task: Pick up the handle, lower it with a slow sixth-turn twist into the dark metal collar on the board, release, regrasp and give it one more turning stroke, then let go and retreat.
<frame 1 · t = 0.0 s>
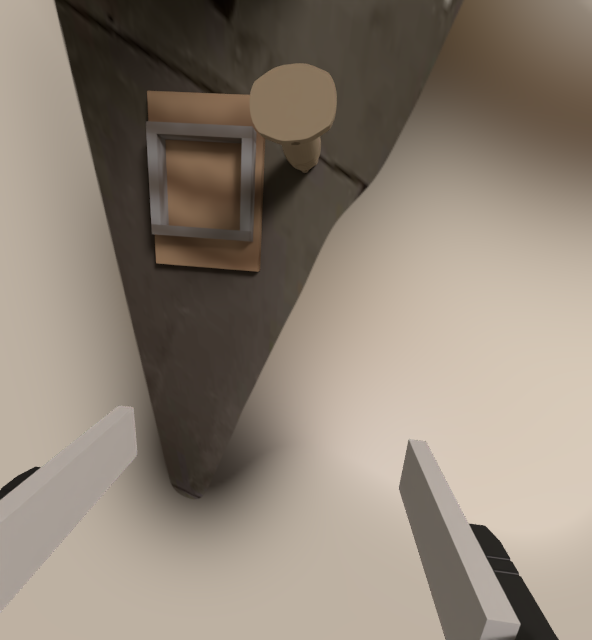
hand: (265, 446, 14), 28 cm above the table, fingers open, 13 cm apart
collar board: (209, 188, 38), on the table
handle: (304, 159, 36), on the table
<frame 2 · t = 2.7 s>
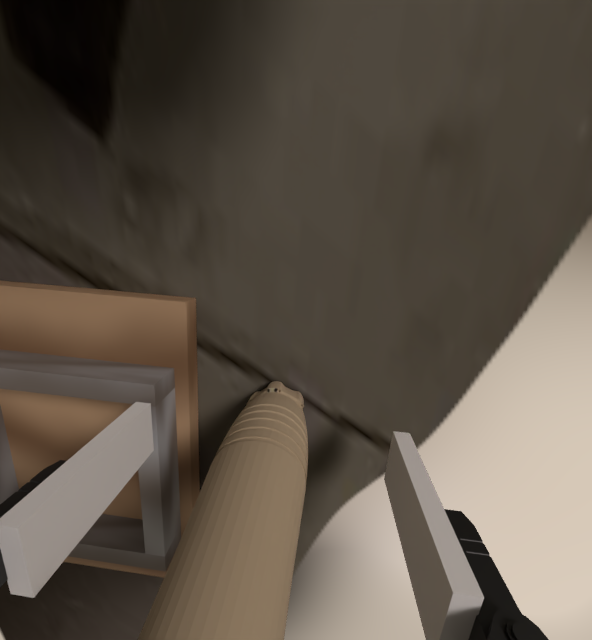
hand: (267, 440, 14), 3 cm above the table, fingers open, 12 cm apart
collar board: (96, 436, 19), on the table
handle: (279, 401, 18), on the table
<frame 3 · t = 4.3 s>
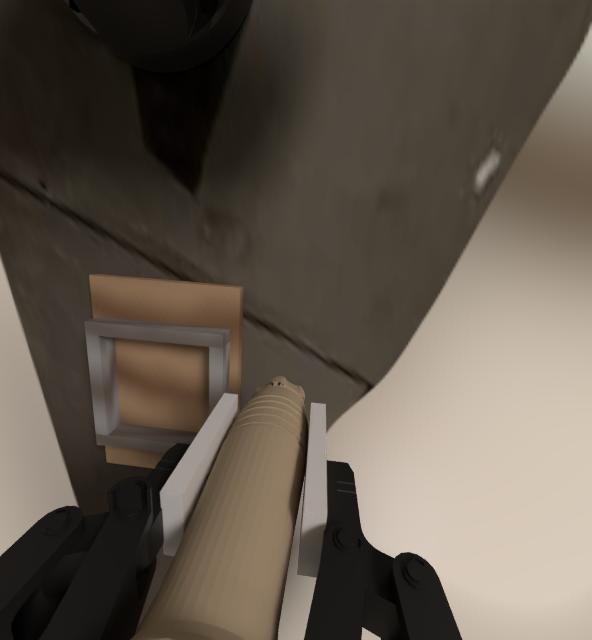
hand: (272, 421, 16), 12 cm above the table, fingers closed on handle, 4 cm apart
collar board: (172, 378, 30), on the table
handle: (282, 395, 19), point 9 cm above the table, touching gripper
when the fingers open (5 cm above the table, at t = 8.2 s): handle stays where it is, resting on collar board.
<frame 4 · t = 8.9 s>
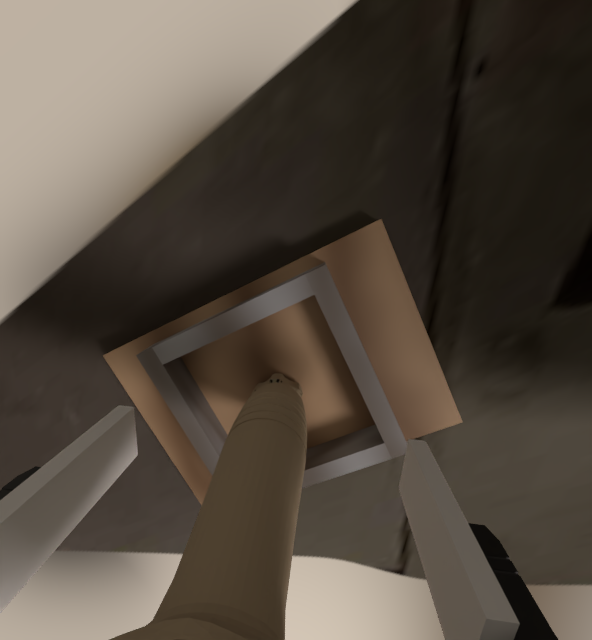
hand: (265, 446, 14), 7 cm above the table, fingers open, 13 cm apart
collar board: (280, 379, 21), on the table
handle: (280, 391, 20), point 1 cm above the table, touching collar board
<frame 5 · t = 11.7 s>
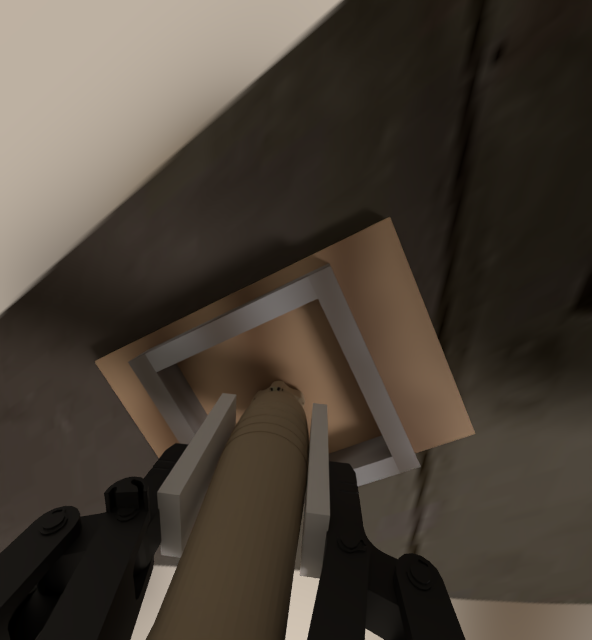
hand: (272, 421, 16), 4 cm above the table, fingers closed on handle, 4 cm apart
collar board: (282, 387, 20), on the table
handle: (281, 400, 19), point 1 cm above the table, touching collar board, gripper
when the fingers open (4 cm above the table, at t = 13.1 s): handle stays where it is, resting on collar board.
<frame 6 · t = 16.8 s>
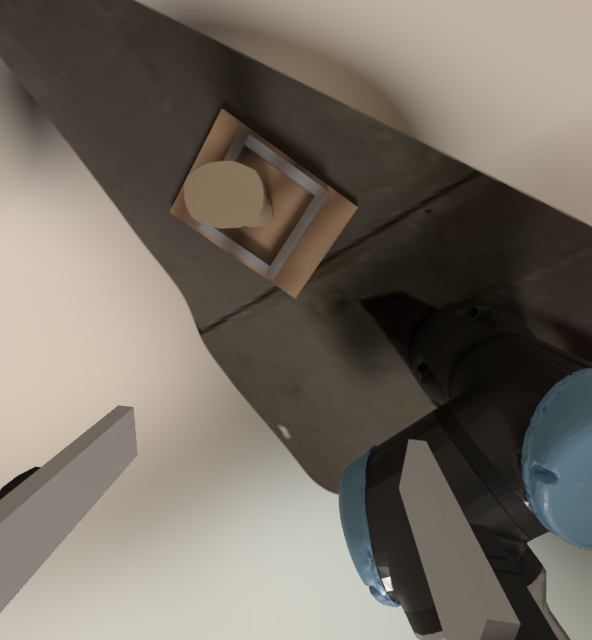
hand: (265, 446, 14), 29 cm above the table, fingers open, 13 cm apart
collar board: (262, 210, 39), on the table
handle: (261, 213, 38), point 1 cm above the table, touching collar board
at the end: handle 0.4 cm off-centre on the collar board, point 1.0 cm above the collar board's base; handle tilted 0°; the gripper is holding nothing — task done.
